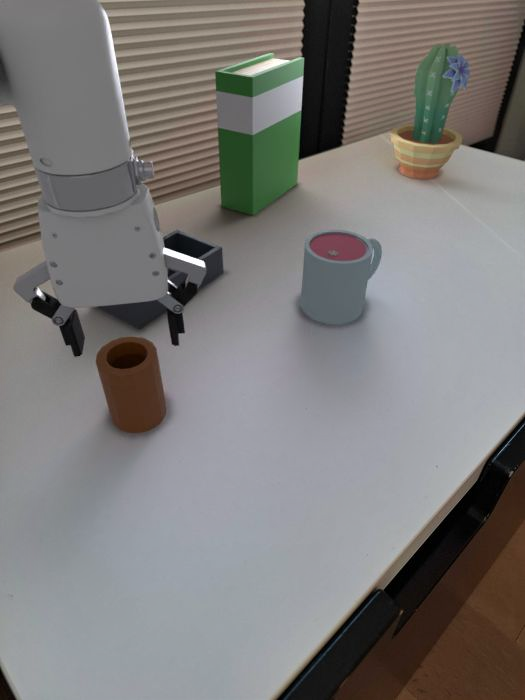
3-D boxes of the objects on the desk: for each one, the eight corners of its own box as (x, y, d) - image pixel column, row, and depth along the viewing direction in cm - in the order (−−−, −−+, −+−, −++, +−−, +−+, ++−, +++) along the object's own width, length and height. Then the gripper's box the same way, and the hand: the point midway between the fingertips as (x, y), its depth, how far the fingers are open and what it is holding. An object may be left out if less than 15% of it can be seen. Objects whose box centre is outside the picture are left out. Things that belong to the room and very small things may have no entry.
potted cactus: (389, 184, 109) (413, 51, 93) (379, 157, 121) (399, 36, 105) (461, 185, 109) (498, 53, 93) (444, 159, 121) (474, 37, 104)
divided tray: (94, 306, 75) (87, 278, 72) (179, 255, 86) (176, 229, 83) (139, 330, 70) (134, 302, 67) (223, 273, 82) (222, 246, 79)
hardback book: (267, 176, 112) (269, 52, 96) (297, 184, 109) (304, 57, 93) (221, 206, 100) (215, 71, 85) (252, 215, 97) (252, 77, 82)
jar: (100, 417, 58) (83, 359, 52) (140, 386, 62) (128, 329, 56) (138, 442, 56) (124, 384, 50) (177, 408, 59) (168, 350, 54)
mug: (329, 332, 70) (337, 271, 64) (288, 301, 76) (291, 241, 70) (397, 299, 77) (410, 240, 70) (354, 272, 82) (362, 215, 76)
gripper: (194, 156, 45) (209, 312, 56) (-12, 170, 43) (46, 329, 54) (199, 191, 39) (215, 357, 50) (-38, 209, 37) (34, 377, 48)
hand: (128, 342), depth 52 cm, fingers open, 9 cm apart
